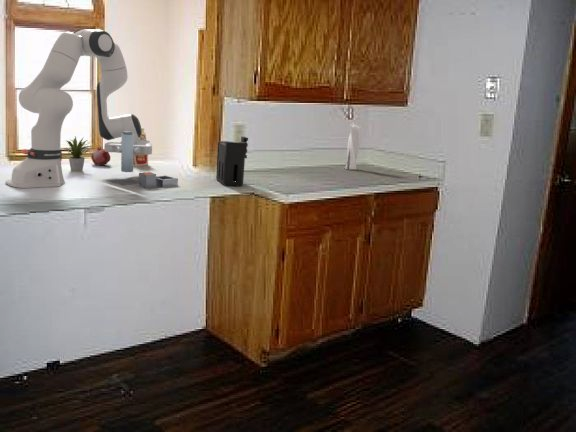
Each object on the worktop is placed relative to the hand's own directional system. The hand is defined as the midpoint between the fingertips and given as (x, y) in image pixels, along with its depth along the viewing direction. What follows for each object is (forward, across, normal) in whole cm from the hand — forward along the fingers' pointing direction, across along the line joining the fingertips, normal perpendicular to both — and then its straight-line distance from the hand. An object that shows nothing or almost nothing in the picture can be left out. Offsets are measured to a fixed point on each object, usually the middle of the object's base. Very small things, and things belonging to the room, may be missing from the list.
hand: (127, 150), depth 253 cm
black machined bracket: (-16, +47, +15) cm, 52 cm away
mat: (-1, 0, +15) cm, 15 cm away
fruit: (-47, -17, +15) cm, 52 cm away
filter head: (+4, +13, +15) cm, 20 cm away
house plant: (-26, -25, +15) cm, 39 cm away
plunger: (+7, +9, +10) cm, 15 cm away
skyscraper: (-81, +124, +16) cm, 149 cm away
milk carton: (-56, 0, +15) cm, 58 cm away
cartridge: (-1, 0, +9) cm, 9 cm away
